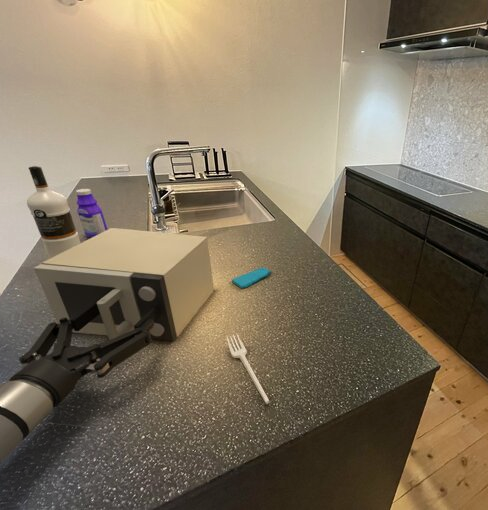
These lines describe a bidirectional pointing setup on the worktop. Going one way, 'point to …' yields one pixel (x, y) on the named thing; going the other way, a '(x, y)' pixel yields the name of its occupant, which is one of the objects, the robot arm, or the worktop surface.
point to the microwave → (152, 272)
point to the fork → (246, 364)
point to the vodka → (51, 216)
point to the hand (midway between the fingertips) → (128, 308)
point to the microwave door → (91, 297)
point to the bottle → (90, 213)
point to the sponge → (251, 277)
